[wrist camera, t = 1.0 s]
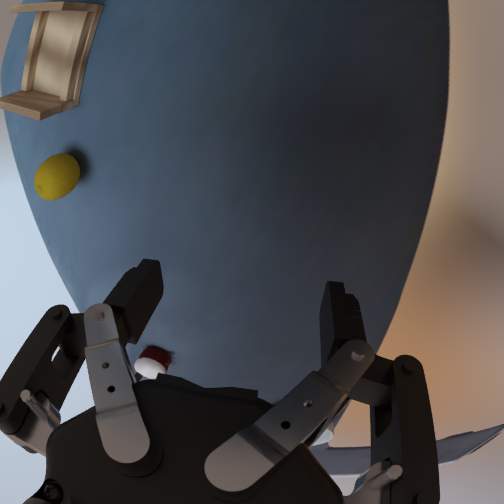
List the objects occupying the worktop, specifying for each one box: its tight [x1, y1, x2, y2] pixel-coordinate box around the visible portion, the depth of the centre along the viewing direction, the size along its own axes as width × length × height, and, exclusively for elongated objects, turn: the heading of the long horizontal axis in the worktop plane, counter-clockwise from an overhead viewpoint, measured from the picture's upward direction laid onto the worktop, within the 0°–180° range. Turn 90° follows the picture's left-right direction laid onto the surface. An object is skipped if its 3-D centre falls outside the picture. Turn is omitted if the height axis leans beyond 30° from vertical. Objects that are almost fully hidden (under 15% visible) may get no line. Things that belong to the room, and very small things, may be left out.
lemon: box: [34, 154, 80, 200], centre depth 30 cm, size 6×6×8 cm
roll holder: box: [0, 2, 104, 121], centre depth 21 cm, size 13×10×7 cm
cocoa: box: [134, 347, 171, 382], centre depth 52 cm, size 10×6×12 cm, turn 93°
